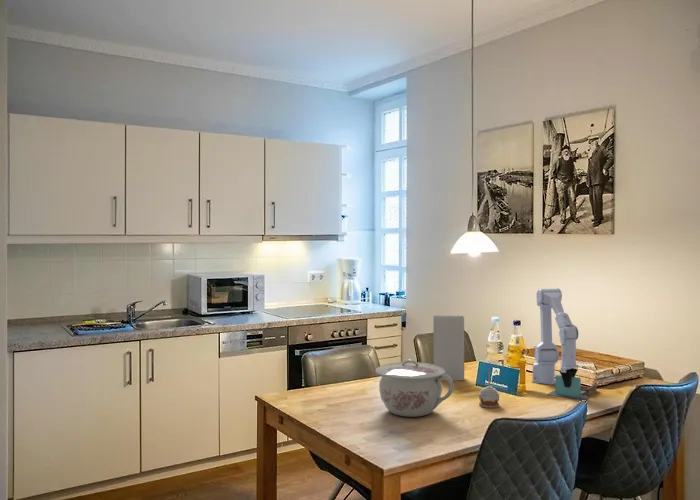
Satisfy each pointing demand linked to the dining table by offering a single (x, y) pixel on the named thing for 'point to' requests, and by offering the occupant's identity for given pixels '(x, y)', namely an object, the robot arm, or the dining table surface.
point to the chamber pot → (412, 387)
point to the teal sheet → (562, 390)
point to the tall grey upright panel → (449, 345)
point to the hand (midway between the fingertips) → (568, 386)
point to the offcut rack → (589, 389)
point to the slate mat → (569, 396)
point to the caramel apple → (489, 396)
